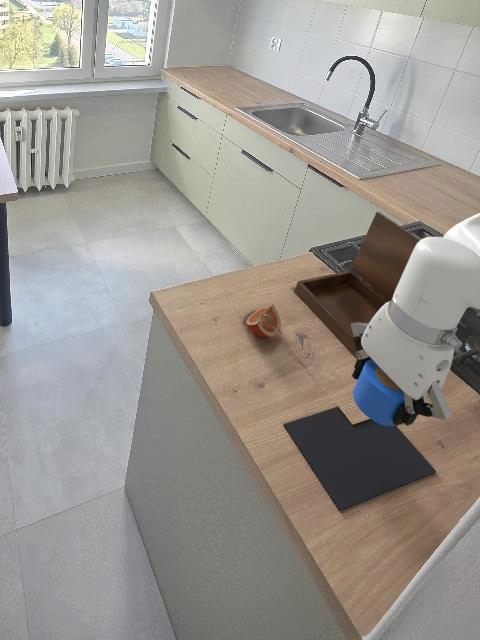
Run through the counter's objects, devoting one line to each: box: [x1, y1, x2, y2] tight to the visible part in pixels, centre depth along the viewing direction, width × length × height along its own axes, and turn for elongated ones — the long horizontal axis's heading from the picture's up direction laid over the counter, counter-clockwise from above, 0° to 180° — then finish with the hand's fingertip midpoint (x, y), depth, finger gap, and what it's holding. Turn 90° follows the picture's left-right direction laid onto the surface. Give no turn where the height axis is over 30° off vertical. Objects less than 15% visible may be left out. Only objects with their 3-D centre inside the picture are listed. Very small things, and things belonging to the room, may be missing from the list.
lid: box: [350, 211, 423, 302], centre depth 96 cm, size 17×19×5 cm
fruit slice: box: [245, 303, 282, 338], centre depth 93 cm, size 8×7×5 cm
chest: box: [294, 269, 389, 359], centre depth 97 cm, size 17×19×4 cm
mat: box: [283, 406, 438, 512], centre depth 72 cm, size 20×13×1 cm, turn 106°
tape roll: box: [352, 359, 405, 426], centre depth 66 cm, size 7×7×6 cm
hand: (379, 397), depth 67 cm, fingers closed on tape roll, 6 cm apart
